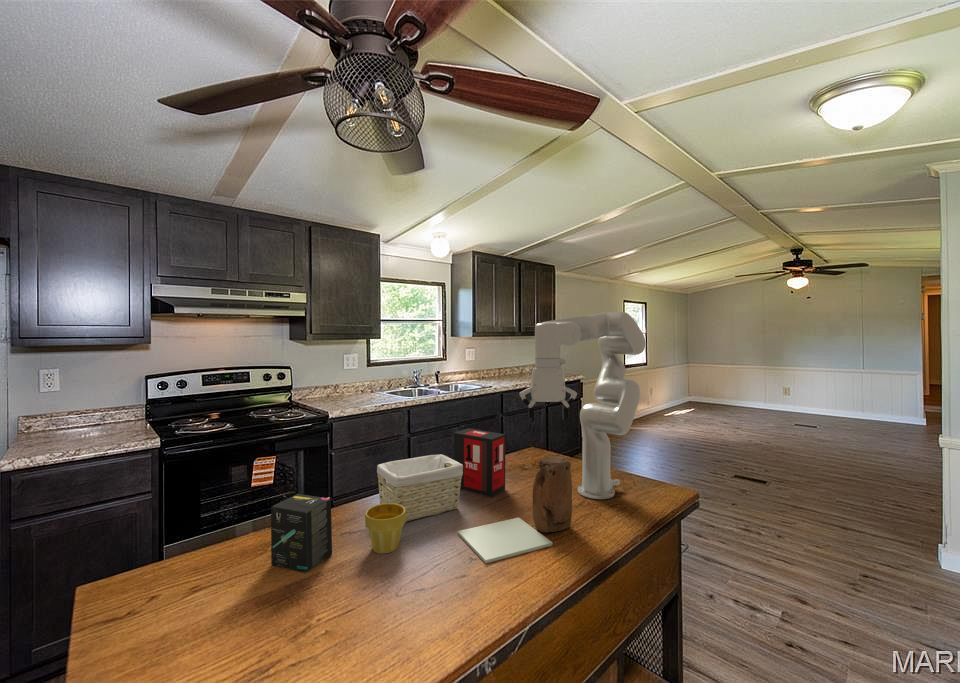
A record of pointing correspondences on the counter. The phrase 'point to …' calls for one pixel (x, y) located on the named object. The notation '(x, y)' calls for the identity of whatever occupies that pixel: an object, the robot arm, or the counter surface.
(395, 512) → the plant pot
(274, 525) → the tampon box
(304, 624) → the counter surface
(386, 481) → the storage basket
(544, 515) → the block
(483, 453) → the cleaning product box
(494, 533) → the cutting board
